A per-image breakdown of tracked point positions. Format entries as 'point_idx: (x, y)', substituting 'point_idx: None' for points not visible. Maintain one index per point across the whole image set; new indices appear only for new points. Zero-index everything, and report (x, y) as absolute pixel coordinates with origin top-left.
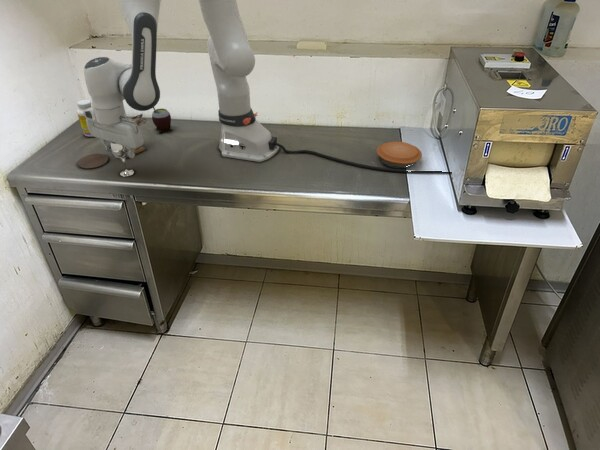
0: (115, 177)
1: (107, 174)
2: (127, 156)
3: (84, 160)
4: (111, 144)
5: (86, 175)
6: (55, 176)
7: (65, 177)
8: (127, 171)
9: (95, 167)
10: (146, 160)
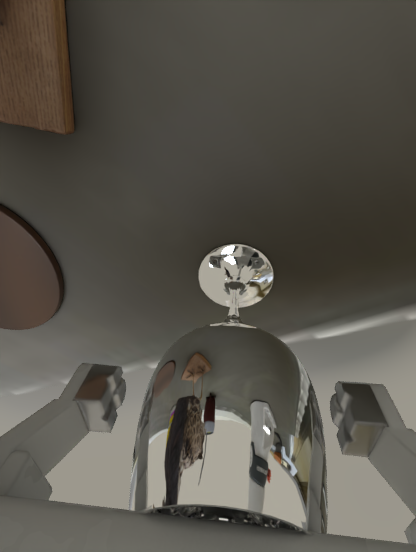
0: None
1: (157, 319)
2: (332, 418)
3: None
4: None
5: (91, 353)
6: (14, 388)
7: (47, 383)
8: (245, 286)
9: (58, 306)
10: (230, 79)
